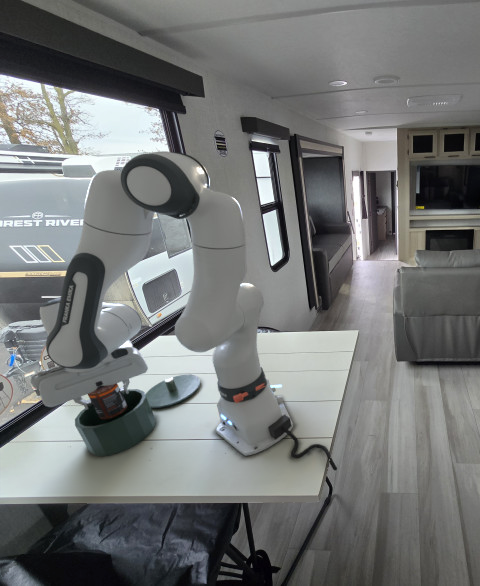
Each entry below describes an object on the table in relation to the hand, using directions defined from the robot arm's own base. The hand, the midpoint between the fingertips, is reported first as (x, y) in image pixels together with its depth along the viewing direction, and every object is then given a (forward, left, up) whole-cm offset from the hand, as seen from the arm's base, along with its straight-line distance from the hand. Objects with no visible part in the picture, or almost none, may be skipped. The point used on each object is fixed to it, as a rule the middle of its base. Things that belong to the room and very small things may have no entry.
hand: (108, 400), depth 82 cm
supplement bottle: (0, 0, -4) cm, 4 cm away
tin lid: (+10, -14, -11) cm, 21 cm away
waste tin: (0, 0, -12) cm, 12 cm away
